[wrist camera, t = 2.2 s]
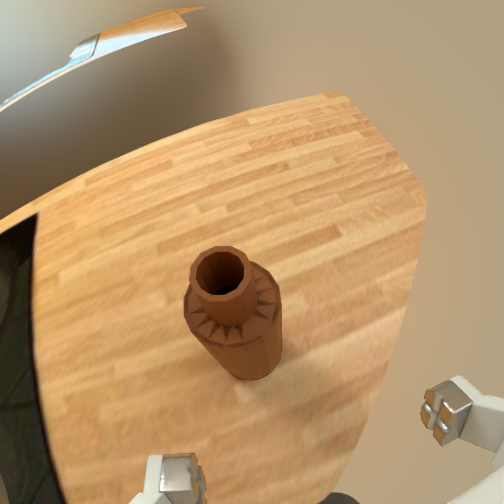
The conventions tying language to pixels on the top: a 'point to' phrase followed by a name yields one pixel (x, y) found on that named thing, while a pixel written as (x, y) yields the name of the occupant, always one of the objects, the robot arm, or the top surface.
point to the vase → (235, 312)
